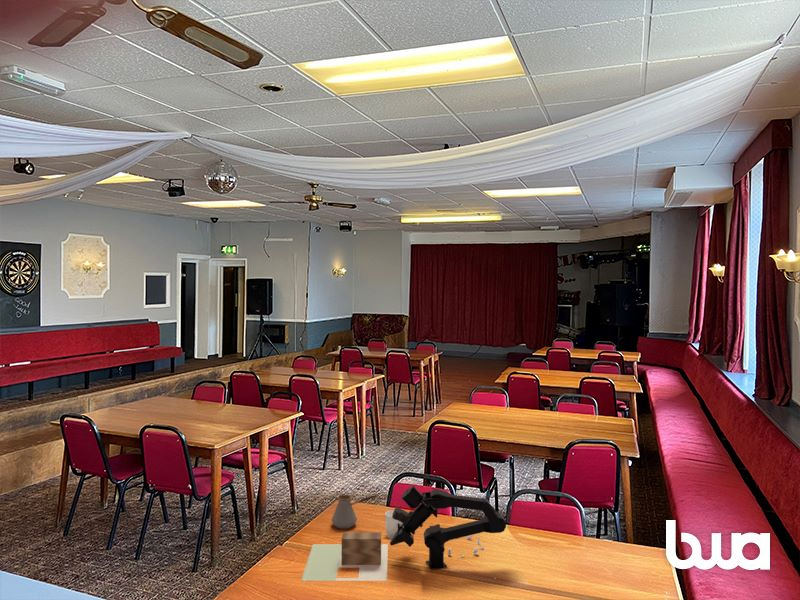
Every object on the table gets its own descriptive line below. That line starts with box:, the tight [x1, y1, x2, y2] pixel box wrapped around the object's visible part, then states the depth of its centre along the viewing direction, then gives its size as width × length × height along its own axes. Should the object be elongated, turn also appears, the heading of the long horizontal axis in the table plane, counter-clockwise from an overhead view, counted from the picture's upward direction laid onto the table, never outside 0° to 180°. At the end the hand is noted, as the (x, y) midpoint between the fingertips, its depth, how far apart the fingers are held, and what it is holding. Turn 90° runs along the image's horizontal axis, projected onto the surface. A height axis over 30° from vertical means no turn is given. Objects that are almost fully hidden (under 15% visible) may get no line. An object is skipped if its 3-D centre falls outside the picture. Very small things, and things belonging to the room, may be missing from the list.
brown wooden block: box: [341, 531, 382, 565], centre depth 227 cm, size 15×6×10 cm, turn 90°
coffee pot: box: [331, 494, 379, 530], centre depth 263 cm, size 21×12×15 cm, turn 79°
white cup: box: [384, 509, 402, 540], centre depth 253 cm, size 8×8×10 cm
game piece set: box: [447, 535, 485, 558], centre depth 243 cm, size 19×20×4 cm
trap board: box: [301, 543, 389, 582], centre depth 227 cm, size 31×30×2 cm
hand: (390, 544), depth 227 cm, fingers closed
